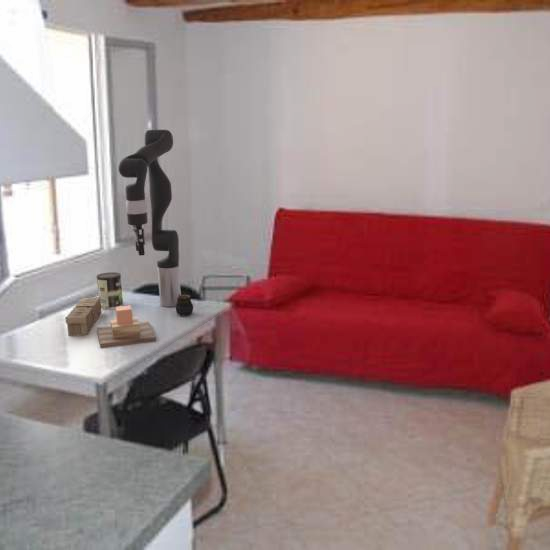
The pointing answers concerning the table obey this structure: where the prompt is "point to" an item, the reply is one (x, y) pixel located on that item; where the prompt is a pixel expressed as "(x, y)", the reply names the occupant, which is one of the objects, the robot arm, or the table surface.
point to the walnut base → (126, 339)
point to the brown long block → (83, 316)
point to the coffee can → (110, 290)
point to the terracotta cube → (124, 315)
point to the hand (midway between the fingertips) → (140, 252)
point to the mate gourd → (184, 305)
